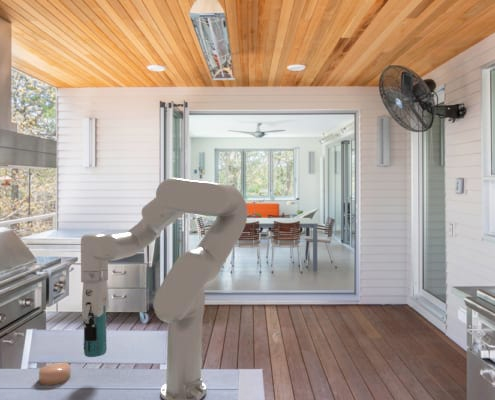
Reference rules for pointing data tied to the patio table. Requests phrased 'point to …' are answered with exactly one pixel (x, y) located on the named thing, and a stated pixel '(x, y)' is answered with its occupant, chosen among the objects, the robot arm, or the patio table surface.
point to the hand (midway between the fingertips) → (95, 335)
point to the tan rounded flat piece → (54, 373)
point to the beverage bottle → (100, 344)
